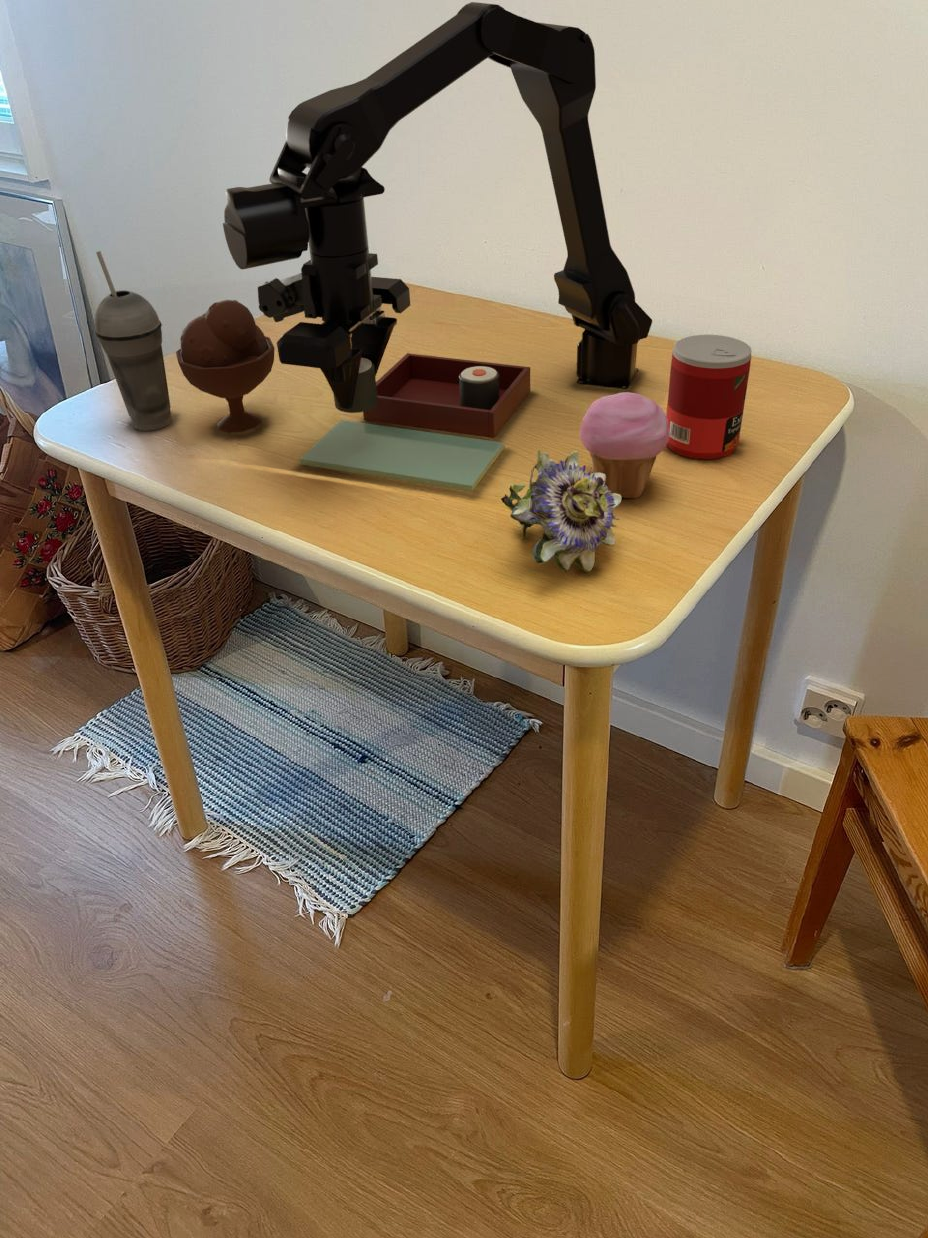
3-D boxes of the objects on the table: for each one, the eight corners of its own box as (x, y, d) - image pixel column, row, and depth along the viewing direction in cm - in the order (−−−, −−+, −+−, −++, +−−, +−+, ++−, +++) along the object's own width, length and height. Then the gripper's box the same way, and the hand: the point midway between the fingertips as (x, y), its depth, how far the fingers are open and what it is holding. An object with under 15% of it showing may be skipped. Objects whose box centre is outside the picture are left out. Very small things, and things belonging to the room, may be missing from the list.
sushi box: (530, 394, 117) (530, 366, 115) (494, 442, 107) (493, 412, 105) (409, 380, 122) (407, 352, 120) (364, 424, 112) (361, 395, 110)
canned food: (738, 463, 102) (753, 363, 95) (662, 458, 103) (671, 360, 96) (737, 430, 107) (751, 335, 101) (664, 426, 109) (673, 332, 102)
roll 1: (384, 397, 104) (380, 356, 101) (366, 415, 100) (361, 373, 98) (346, 392, 105) (342, 352, 102) (327, 410, 102) (321, 368, 99)
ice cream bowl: (276, 400, 119) (256, 278, 110) (293, 438, 110) (272, 309, 101) (190, 415, 116) (161, 291, 107) (199, 455, 108) (169, 324, 99)
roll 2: (504, 403, 114) (504, 366, 111) (491, 419, 111) (491, 381, 108) (468, 398, 116) (467, 361, 113) (454, 414, 112) (453, 377, 109)
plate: (504, 452, 105) (504, 442, 105) (472, 496, 98) (472, 485, 97) (342, 429, 112) (341, 419, 111) (300, 468, 104) (299, 458, 104)
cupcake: (658, 514, 94) (667, 420, 88) (570, 505, 96) (574, 412, 90) (668, 471, 101) (677, 381, 95) (586, 464, 103) (590, 375, 97)
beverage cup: (174, 435, 112) (132, 260, 100) (113, 436, 112) (64, 262, 100) (189, 408, 118) (151, 240, 106) (131, 410, 118) (86, 242, 106)
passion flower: (582, 614, 90) (560, 570, 79) (491, 560, 95) (458, 510, 84) (648, 518, 92) (635, 461, 81) (555, 469, 96) (531, 408, 85)
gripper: (311, 217, 102) (329, 357, 112) (215, 271, 89) (245, 426, 98) (406, 223, 99) (417, 368, 108) (322, 281, 85) (342, 440, 95)
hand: (356, 398), depth 102 cm, fingers closed on roll 1, 4 cm apart
